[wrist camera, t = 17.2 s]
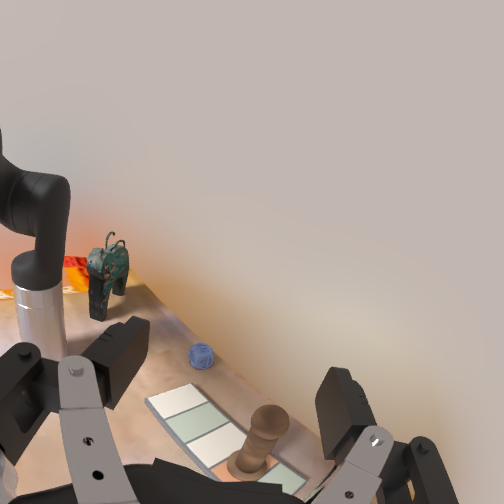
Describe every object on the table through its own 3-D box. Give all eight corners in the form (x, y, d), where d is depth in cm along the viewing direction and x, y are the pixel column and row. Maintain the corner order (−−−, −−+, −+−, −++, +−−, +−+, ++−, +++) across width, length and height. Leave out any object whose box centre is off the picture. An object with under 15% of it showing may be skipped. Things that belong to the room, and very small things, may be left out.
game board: (144, 402, 38) (144, 397, 38) (191, 387, 46) (192, 381, 45) (261, 521, 21) (264, 519, 21) (305, 483, 29) (308, 479, 29)
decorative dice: (194, 370, 51) (197, 355, 50) (187, 358, 54) (190, 343, 53) (212, 368, 53) (215, 353, 52) (204, 356, 56) (207, 342, 55)
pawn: (218, 463, 29) (240, 406, 26) (245, 446, 34) (272, 387, 30) (246, 488, 26) (279, 437, 23) (272, 468, 30) (309, 413, 27)
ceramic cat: (103, 327, 54) (106, 242, 49) (79, 318, 53) (81, 235, 48) (130, 292, 73) (138, 224, 68) (111, 287, 72) (117, 219, 67)
